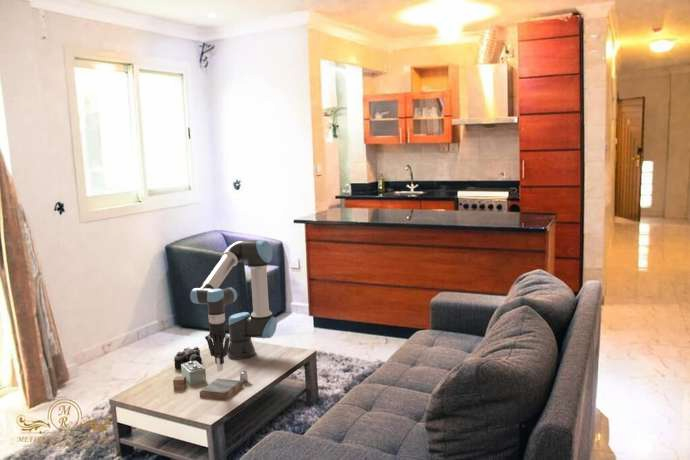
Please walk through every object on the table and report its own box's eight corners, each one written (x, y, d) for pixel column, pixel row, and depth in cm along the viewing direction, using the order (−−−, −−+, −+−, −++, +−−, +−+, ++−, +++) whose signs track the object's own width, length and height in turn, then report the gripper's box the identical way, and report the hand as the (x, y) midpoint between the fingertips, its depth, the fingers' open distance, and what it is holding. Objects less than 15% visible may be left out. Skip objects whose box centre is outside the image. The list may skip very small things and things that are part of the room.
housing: (197, 373, 299) (195, 358, 298) (206, 381, 287) (205, 365, 286) (181, 377, 295) (180, 361, 294) (190, 385, 283) (189, 369, 282)
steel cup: (242, 380, 287) (241, 370, 286) (249, 381, 285) (248, 371, 285) (239, 383, 283) (238, 373, 283) (245, 383, 282) (245, 374, 281)
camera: (185, 373, 299) (183, 355, 298) (173, 369, 306) (171, 351, 304) (209, 364, 312) (207, 346, 310) (197, 360, 318) (195, 343, 317)
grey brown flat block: (217, 383, 283) (217, 378, 283) (242, 386, 279) (242, 380, 279) (199, 396, 268) (199, 390, 268) (226, 399, 264) (225, 393, 264)
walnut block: (176, 385, 283) (175, 376, 283) (186, 385, 283) (185, 375, 283) (173, 389, 278) (173, 380, 278) (184, 389, 278) (183, 379, 278)
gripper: (200, 323, 268) (203, 372, 271) (225, 325, 264) (228, 374, 267) (209, 319, 275) (212, 366, 278) (233, 320, 271) (236, 368, 274)
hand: (220, 370), depth 272 cm, fingers closed
